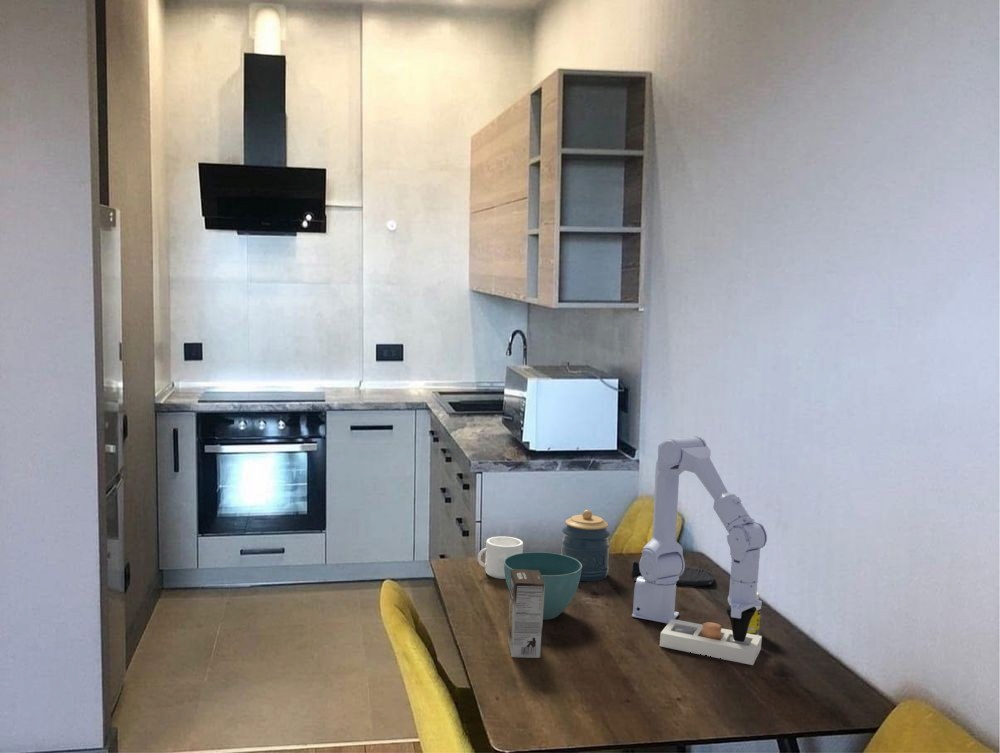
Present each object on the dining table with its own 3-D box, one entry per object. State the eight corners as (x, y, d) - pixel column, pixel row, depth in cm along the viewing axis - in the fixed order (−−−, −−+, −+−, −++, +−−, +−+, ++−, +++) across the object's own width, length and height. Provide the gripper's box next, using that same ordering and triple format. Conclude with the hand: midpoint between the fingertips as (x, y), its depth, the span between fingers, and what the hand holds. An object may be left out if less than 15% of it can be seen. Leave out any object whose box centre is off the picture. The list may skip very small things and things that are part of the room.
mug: (481, 582, 247) (483, 548, 246) (472, 570, 256) (473, 536, 256) (526, 580, 250) (528, 546, 249) (515, 568, 260) (517, 535, 259)
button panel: (659, 646, 209) (660, 632, 209) (670, 631, 219) (671, 618, 218) (753, 665, 201) (754, 651, 201) (760, 649, 211) (761, 636, 210)
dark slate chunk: (714, 593, 249) (715, 575, 248) (629, 583, 253) (630, 566, 253) (713, 575, 264) (714, 558, 263) (632, 566, 268) (634, 550, 268)
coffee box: (506, 641, 208) (510, 568, 207) (536, 641, 209) (540, 569, 207) (510, 657, 199) (514, 582, 198) (541, 658, 200) (545, 582, 198)
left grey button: (672, 642, 211) (672, 630, 211) (676, 636, 215) (677, 624, 215) (690, 646, 210) (691, 633, 209) (694, 640, 213) (695, 628, 213)
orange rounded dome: (699, 639, 209) (700, 626, 208) (703, 633, 212) (704, 621, 212) (718, 642, 207) (719, 630, 207) (722, 636, 211) (723, 624, 210)
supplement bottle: (759, 639, 216) (763, 597, 215) (735, 636, 217) (738, 594, 216) (758, 630, 222) (761, 589, 221) (734, 628, 223) (737, 587, 222)
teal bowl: (533, 633, 213) (536, 579, 212) (486, 608, 228) (488, 557, 227) (594, 619, 224) (598, 568, 223) (546, 596, 239) (548, 547, 237)
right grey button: (727, 653, 207) (728, 641, 206) (730, 647, 210) (731, 635, 210) (745, 657, 205) (746, 644, 205) (749, 651, 209) (750, 638, 208)
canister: (554, 567, 263) (558, 503, 261) (600, 566, 265) (604, 504, 263) (566, 582, 250) (570, 516, 248) (614, 582, 252) (618, 516, 250)
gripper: (757, 591, 198) (752, 655, 199) (768, 573, 211) (763, 633, 212) (722, 585, 200) (718, 648, 202) (735, 567, 214) (731, 626, 215)
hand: (739, 640), depth 207 cm, fingers closed, pressing on right grey button
